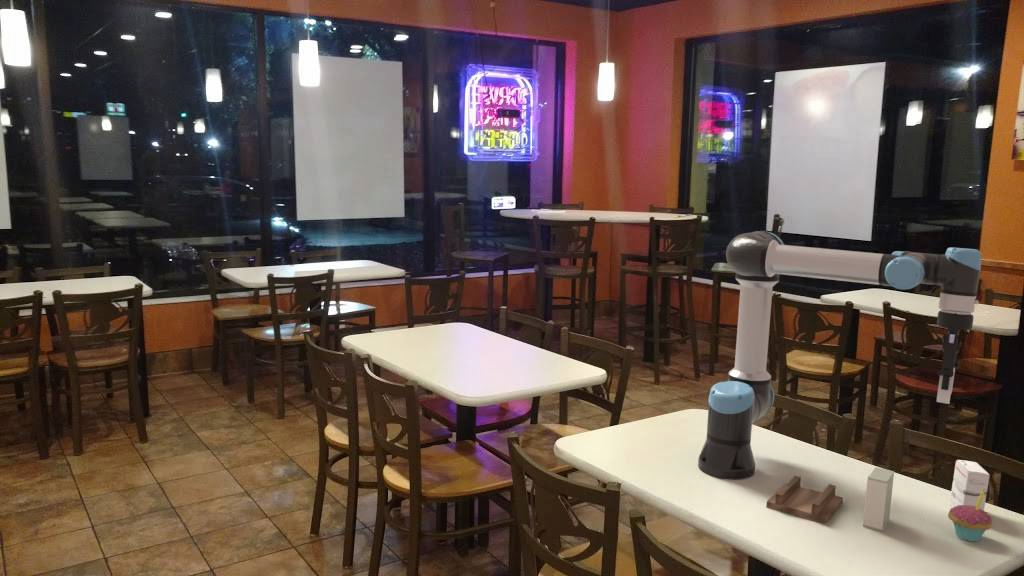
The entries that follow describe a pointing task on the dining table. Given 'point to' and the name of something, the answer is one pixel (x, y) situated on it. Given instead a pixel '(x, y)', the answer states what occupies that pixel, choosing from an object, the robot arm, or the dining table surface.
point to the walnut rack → (806, 501)
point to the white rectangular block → (968, 484)
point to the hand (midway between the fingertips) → (944, 397)
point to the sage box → (878, 499)
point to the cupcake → (970, 520)
